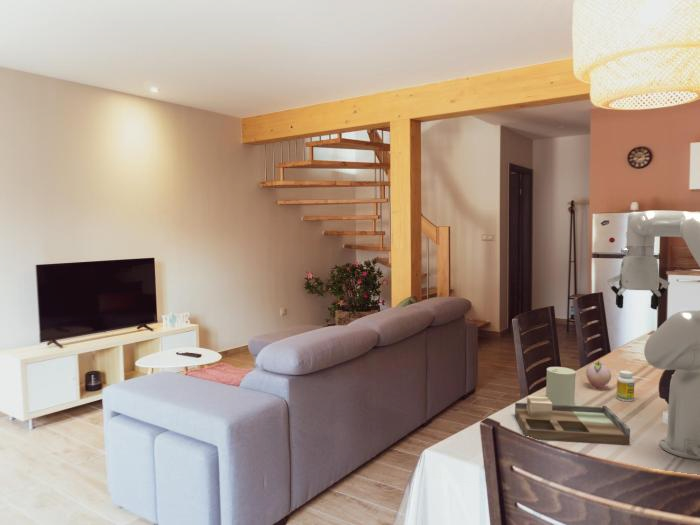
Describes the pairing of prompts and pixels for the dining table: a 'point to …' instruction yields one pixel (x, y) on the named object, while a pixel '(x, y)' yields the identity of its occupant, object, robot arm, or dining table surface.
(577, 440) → the brown wooden tray
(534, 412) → the block
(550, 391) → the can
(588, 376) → the decorative fruit
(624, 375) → the supplement bottle
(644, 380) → the dining table surface
